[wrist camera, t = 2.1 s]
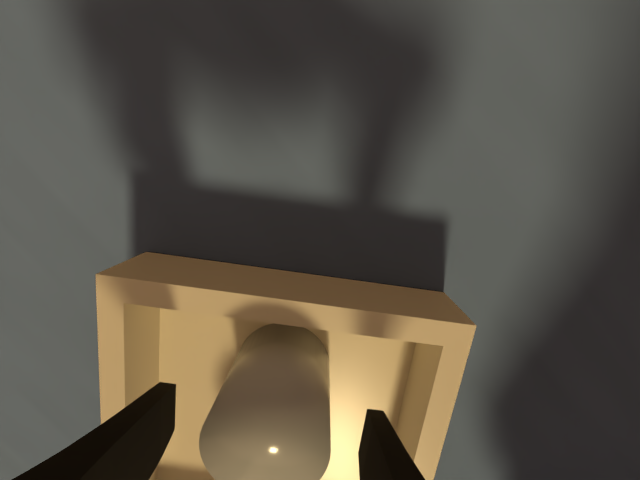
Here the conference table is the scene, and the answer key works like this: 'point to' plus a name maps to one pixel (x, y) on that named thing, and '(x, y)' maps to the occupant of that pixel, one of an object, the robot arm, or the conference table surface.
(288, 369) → the stone
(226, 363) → the tray
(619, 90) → the conference table surface
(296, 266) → the conference table surface
